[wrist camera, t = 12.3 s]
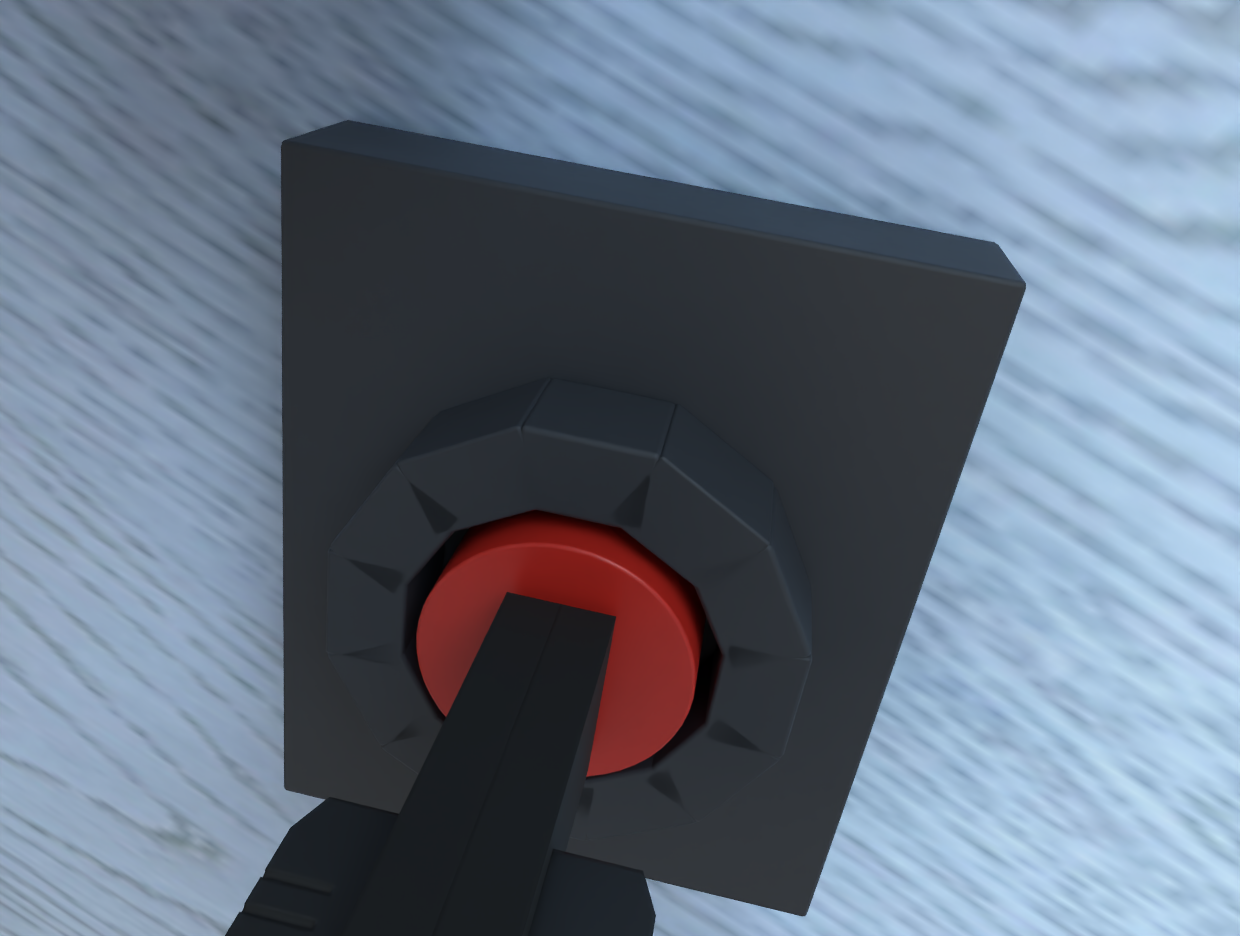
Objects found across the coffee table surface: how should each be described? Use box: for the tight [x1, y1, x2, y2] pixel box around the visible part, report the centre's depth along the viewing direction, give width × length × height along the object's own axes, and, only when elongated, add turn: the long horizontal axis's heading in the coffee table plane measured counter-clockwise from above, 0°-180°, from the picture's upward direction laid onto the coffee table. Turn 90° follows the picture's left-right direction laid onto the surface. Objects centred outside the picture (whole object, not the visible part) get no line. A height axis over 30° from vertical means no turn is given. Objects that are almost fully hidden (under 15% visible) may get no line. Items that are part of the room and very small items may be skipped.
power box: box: [281, 120, 1026, 916], centre depth 16 cm, size 12×10×4 cm
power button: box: [416, 510, 706, 777], centre depth 15 cm, size 4×4×2 cm
